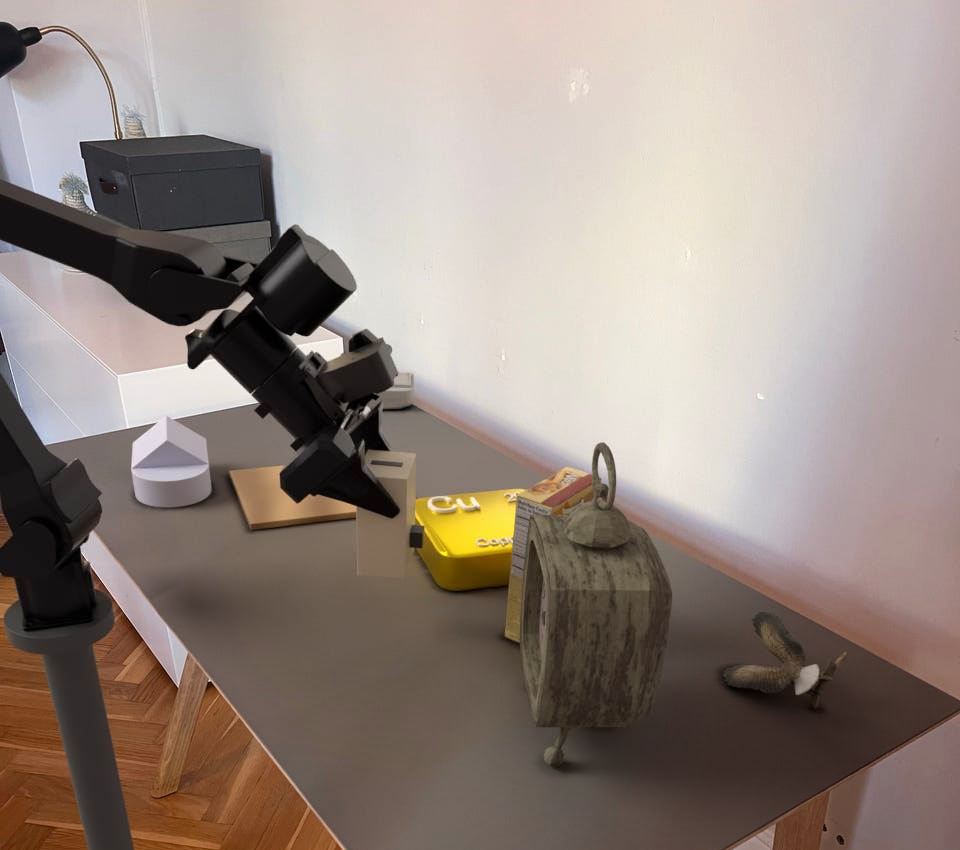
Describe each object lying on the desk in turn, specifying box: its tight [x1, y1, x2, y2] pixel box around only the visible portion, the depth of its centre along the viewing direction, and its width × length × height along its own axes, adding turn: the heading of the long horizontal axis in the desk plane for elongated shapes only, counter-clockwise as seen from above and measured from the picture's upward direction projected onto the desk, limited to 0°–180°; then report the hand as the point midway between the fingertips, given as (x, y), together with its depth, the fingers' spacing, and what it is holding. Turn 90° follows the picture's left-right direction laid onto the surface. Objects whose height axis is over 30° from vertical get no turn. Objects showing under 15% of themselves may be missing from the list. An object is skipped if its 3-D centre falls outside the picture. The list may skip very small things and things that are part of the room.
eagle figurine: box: [722, 609, 849, 710], centre depth 85 cm, size 8×7×9 cm
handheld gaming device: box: [367, 371, 415, 410], centre depth 147 cm, size 9×15×4 cm, turn 94°
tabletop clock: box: [519, 441, 673, 767], centre depth 74 cm, size 14×9×25 cm, turn 4°
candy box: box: [504, 466, 602, 644], centre depth 90 cm, size 9×4×15 cm, turn 145°
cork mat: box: [228, 464, 356, 531], centre depth 118 cm, size 20×16×1 cm
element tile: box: [415, 488, 526, 592], centre depth 105 cm, size 15×15×5 cm
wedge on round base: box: [130, 415, 212, 508], centre depth 116 cm, size 9×7×13 cm
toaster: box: [355, 450, 425, 580], centre depth 87 cm, size 6×6×10 cm
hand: (401, 500), depth 86 cm, fingers closed on toaster, 6 cm apart
